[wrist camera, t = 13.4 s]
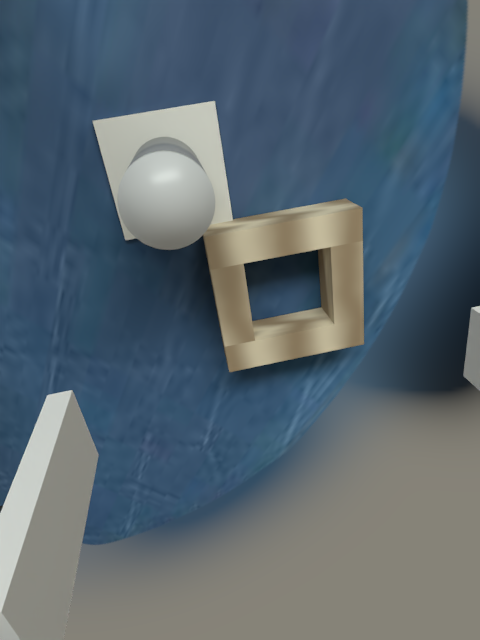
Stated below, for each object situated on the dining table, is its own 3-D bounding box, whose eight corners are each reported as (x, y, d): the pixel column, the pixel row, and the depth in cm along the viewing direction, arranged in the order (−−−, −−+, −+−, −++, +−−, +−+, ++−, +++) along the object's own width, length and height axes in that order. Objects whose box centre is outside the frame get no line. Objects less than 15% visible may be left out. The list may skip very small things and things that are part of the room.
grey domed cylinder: (140, 214, 39) (131, 257, 28) (122, 143, 36) (105, 160, 26) (206, 202, 39) (222, 240, 29) (194, 131, 37) (206, 144, 26)
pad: (125, 239, 40) (125, 240, 40) (93, 120, 35) (92, 121, 35) (232, 219, 41) (232, 220, 40) (214, 100, 36) (214, 101, 36)
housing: (224, 351, 47) (229, 372, 44) (200, 225, 41) (204, 237, 37) (349, 326, 48) (364, 344, 44) (345, 198, 42) (362, 207, 38)
